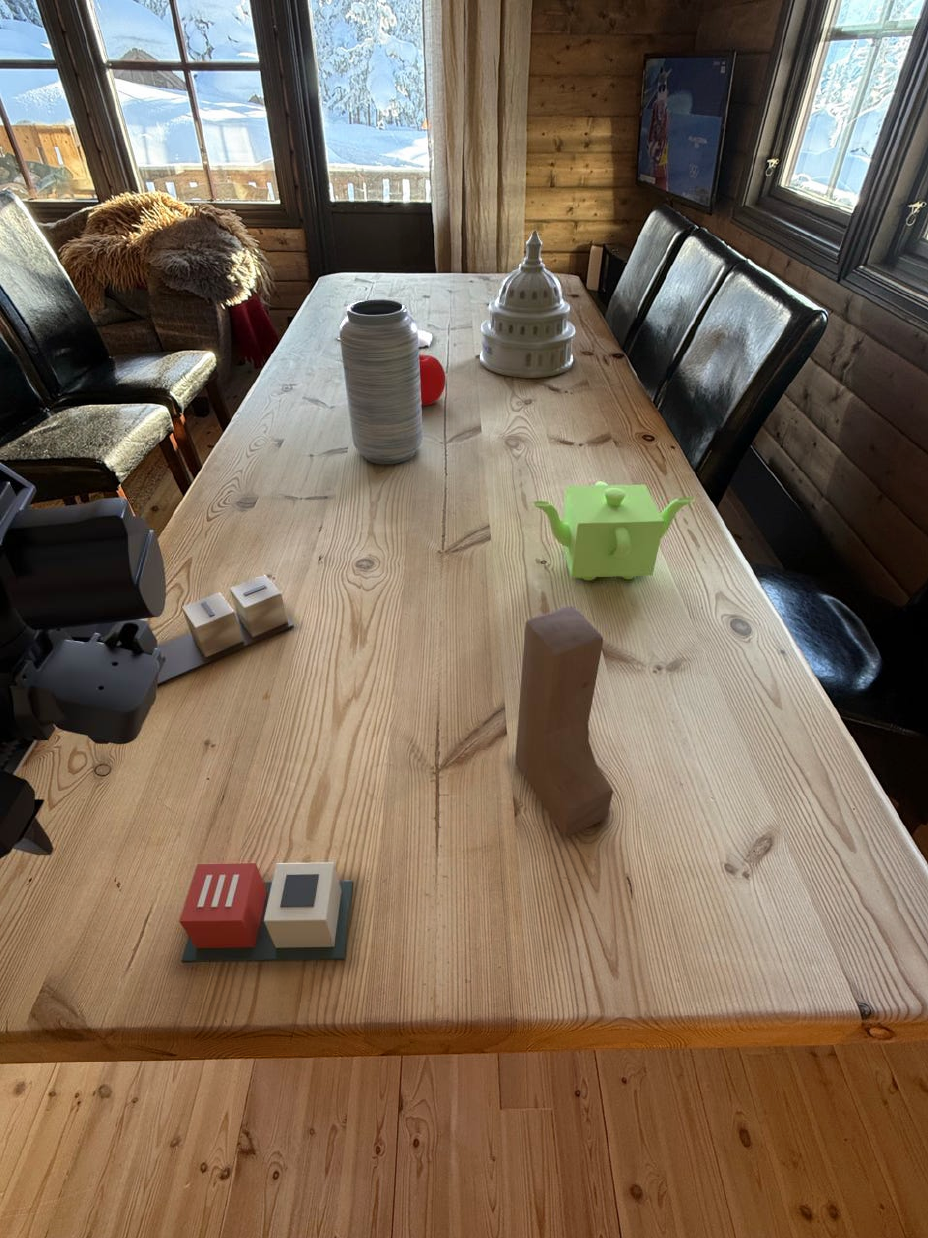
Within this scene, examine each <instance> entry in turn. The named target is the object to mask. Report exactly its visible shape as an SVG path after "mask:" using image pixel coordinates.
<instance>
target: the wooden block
mask: <svg viewBox="0 0 928 1238" xmlns="http://www.w3.org/2000/svg"><path fill="white" fill-rule="evenodd" d="M524 624H525V625H524V636H523V637H524V639H523V650H522V651H523V652H522V663H521V664H522V665H521V677H520V678H521V679H520V689H519V690H520V692H519V702H518V703H519V705H518V717H517V731H516V743H515V745H516V746H515V757H514V763H515V765H516V766H517V768H518V769H519V771H520V772H521V774H522V775H523V777H524V779H525V780H526V782H527V783H528V785H529V786H530V787H531V789H532V791H533V792H534V794H535V796H536V797H537V798H538V799H539V801H540V803H541V804H542V806H543V807H544V809H545V810H546V812H547V813H548V814H549V816H550V818H551V819H552V821H553V823H554V824H555V825H556V827H557V828H558V830H559V831H560V832H561V835H562V836H563V837H565V838H568V837H570V836H572V835H574V834H577V833H579V832H581V831H583V830H585V829H587V828H589V827H592V826H595V825H596V824H598V823H600V822H603V821H605V820H606V818H607V817H608V814H609V810H610V805H611V801H612V798H613V794H614V790H613V787H612V786H611V784H610V782H609V781H608V779H607V778H606V776H605V775H604V773H603V771H602V770H601V769H600V767H599V765H598V764H597V761H596V759H595V756H594V753H593V749H592V747H591V744H590V736H589V734H590V733H589V732H590V731H589V721H590V716H591V711H592V705H593V699H594V694H595V689H596V683H597V677H598V673H599V666H600V660H601V656H602V651H603V644H604V637H603V636H602V634H601V633H600V632H599V631H598V630H597V629H596V627H595V626H593V624H591V622H589V620H588V619H587V618H586V617H585V616H584V615H583V614H582V613H581V612H580V611H579V610H578V609H577V608H576V607H575V606H573V605H569V606H565V607H562V608H559V609H557V610H554V611H551V612H550V611H549V612H548V613H543V614H541V615H538V616H535V617H532V618H529V619H528V620H526V621H525V623H524Z"/></svg>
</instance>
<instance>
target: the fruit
mask: <svg viewBox="0 0 928 1238" xmlns="http://www.w3.org/2000/svg"><path fill="white" fill-rule="evenodd" d="M419 365H420V385H421V406H422V407H423V406H430V405H432V404H435V402H437V401H438V400H439V399H440V397H441V396H442V394H443V391H444V390H445V388H446V387H445V386H446V374H445V370H444V367H443V365H442V364H441V362H440V360H439V359H437V358H436V357H434V356H433V355H430V354H419Z"/></svg>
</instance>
